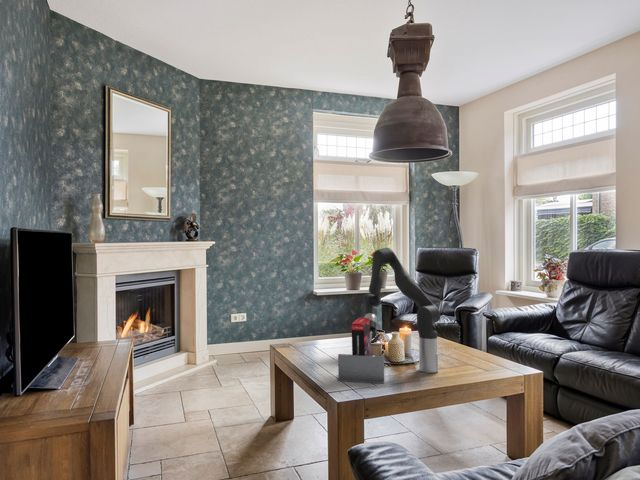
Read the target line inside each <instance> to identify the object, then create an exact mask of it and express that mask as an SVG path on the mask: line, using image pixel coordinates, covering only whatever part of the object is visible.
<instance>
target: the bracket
mask: <svg viewBox="0 0 640 480" xmlns="http://www.w3.org/2000/svg"><path fill="white" fill-rule="evenodd" d="M337 355H338V357H337V364H338V367H337V368H338V370H337V372H338V373H337V376H338V378H337V381H336V382H344V383H345V382H346V383H362V384H377V385H378V384H379V385H385V356H384V355H352V354H349V353H348V354H347V353H338V354H337Z"/></svg>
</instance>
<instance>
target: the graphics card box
mask: <svg viewBox="0 0 640 480" xmlns="http://www.w3.org/2000/svg"><path fill="white" fill-rule="evenodd" d="M351 350H352V351H351V353H352V354H351V355H371V354H372V353H371V350H372V349H370V319H369V318H364V317H357V319H355V320H354V321H353V322H352V323H351Z"/></svg>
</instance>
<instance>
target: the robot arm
mask: <svg viewBox="0 0 640 480" xmlns="http://www.w3.org/2000/svg"><path fill="white" fill-rule="evenodd" d="M371 264H372V265H371V279H370V283H369V287H368V292H369V293H365V294H364V295H363V297H362V298H363V299H362V301H363V306H364V317H363V318H369V319H370V350H372V344H371V343H374V342H376V343H377V342H378V341H379V340H380V339H381V334H378V332H377V326H378V318H377V317H378V309H377V308H378V307H379V306H380V305H381V303H382V298H381V290H382V286H383V281H384V279H383V277H382V275H381V269H382V266H385V265H389V266H390V267H391V268H392V270H393V273H394V283H395V285H396V287H397V288H398V289H399V291H400V292H401V294H402V295H404V296H405V297H407V298H408V299H409V300H410V301H413V302H414V303H415V304H417V306H418V309H417V311H416V327H417V329H416V330H417V332H418V351H419V353H418V354H419V355H418V359H419V360H418V362H419V363H418V364H419V365H418V369H419V372H422V373H427V374H428V373H429V374H433V373H439V356H438V355H439V353H438V348H439V347H438V331H436V330H435V329H434V328H433V324H434V323H438V322H439V321H440V320H441V318H442V317H441V311H440V309H439V308H438V307H437V305H436V304H435V303H433V301H432V300H431V299H430V298H429V297H428V296H427V295H426V293H425V292H424V291H423V290H422V289H421V287H420V286H419V284H418V283H417V282H416V281H415V279H413V277H412V276H411V274H409V272H408V270H407V269H406V268H405V267H404V266H403V264H402V263H401V261H400V260H399V258H398V256H397V255H396V253H395V252H394V250H393V249H392V248H390V247H384V248H380V249H377V250H374V252H373V255H372V263H371Z"/></svg>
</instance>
